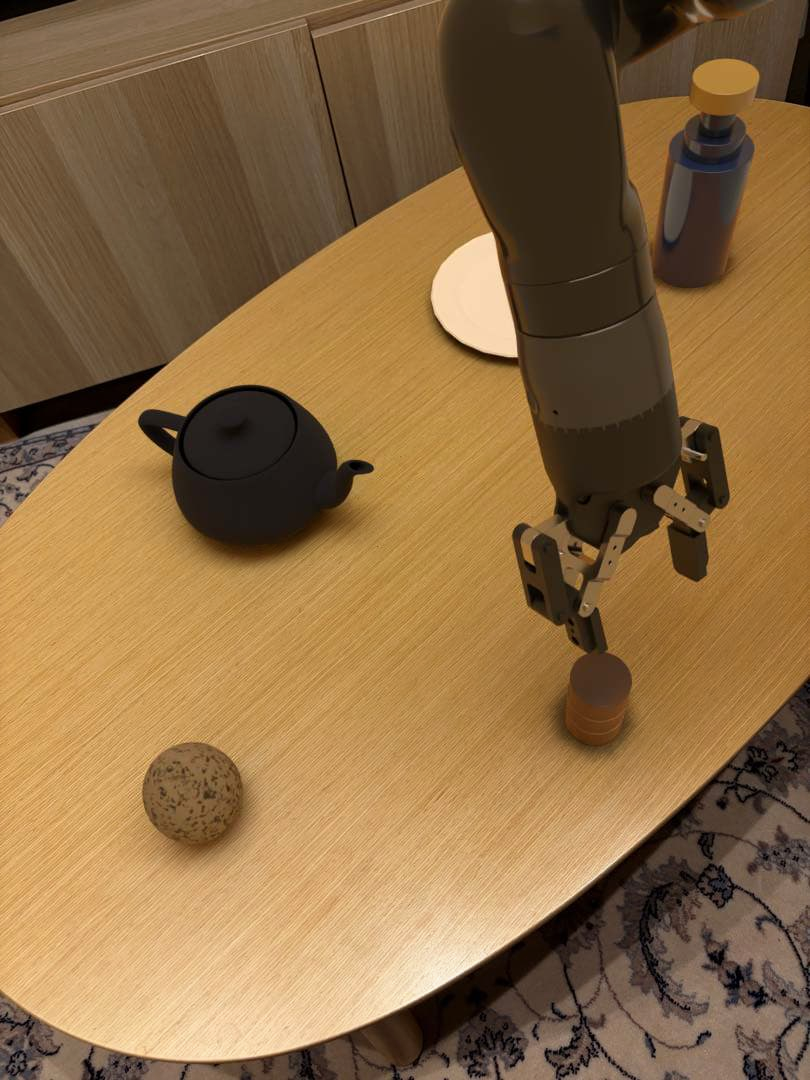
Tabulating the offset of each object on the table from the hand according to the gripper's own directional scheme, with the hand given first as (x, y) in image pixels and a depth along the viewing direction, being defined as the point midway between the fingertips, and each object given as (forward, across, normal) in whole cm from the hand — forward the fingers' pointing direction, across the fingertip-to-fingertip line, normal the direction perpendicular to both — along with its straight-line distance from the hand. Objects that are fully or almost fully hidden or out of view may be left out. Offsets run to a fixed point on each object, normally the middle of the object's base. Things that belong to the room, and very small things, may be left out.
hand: (643, 610), depth 54 cm
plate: (-2, +27, +44) cm, 52 cm away
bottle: (+1, +44, +36) cm, 57 cm away
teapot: (+2, -9, +41) cm, 42 cm away
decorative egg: (+12, -29, +21) cm, 38 cm away
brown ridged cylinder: (+16, -1, +8) cm, 18 cm away
